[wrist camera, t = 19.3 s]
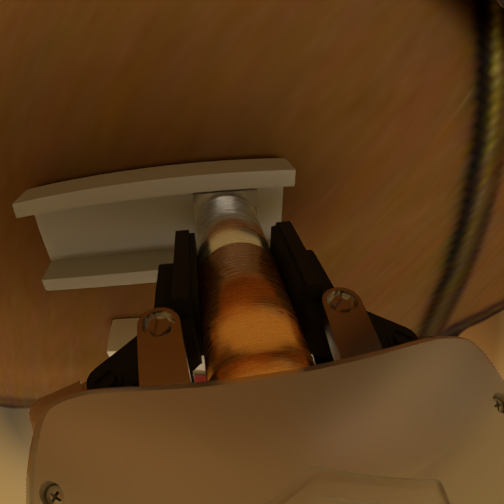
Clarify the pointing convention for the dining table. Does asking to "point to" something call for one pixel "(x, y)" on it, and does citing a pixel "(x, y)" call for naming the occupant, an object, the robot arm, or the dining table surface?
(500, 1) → the ramen bowl
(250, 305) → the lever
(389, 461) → the robot arm
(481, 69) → the dining table surface
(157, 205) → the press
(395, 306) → the dining table surface
